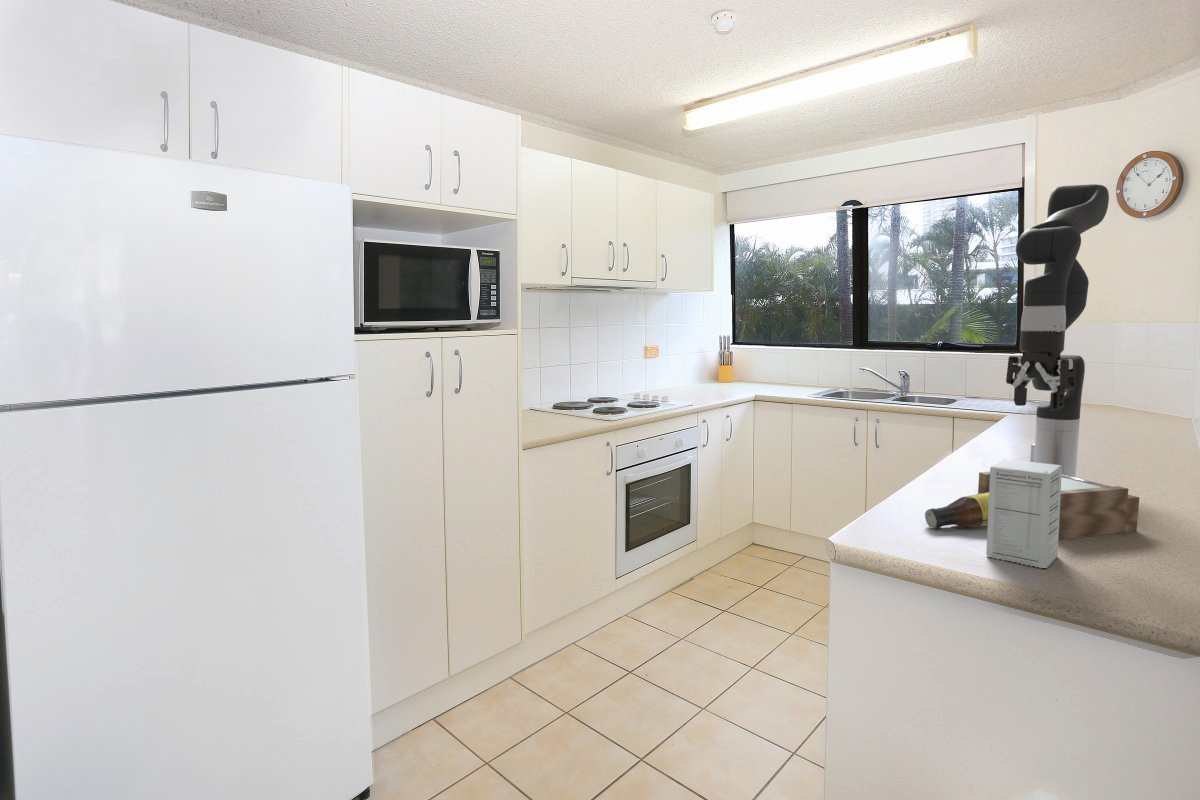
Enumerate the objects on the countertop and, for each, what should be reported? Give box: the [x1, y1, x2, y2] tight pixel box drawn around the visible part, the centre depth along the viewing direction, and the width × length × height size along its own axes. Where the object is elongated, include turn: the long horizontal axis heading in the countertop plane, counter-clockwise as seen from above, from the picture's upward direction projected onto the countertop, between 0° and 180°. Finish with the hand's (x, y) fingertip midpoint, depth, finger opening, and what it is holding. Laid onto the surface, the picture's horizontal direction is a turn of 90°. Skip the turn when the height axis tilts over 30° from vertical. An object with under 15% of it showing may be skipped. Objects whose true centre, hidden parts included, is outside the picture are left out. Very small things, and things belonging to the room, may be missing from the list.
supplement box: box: [986, 458, 1062, 569], centre depth 118 cm, size 10×9×17 cm
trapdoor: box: [1061, 474, 1113, 491], centre depth 138 cm, size 17×14×1 cm
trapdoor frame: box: [977, 471, 1140, 540], centre depth 138 cm, size 20×19×9 cm
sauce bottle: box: [924, 492, 989, 529], centre depth 136 cm, size 7×6×20 cm
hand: (1037, 408), depth 135 cm, fingers open, 8 cm apart
